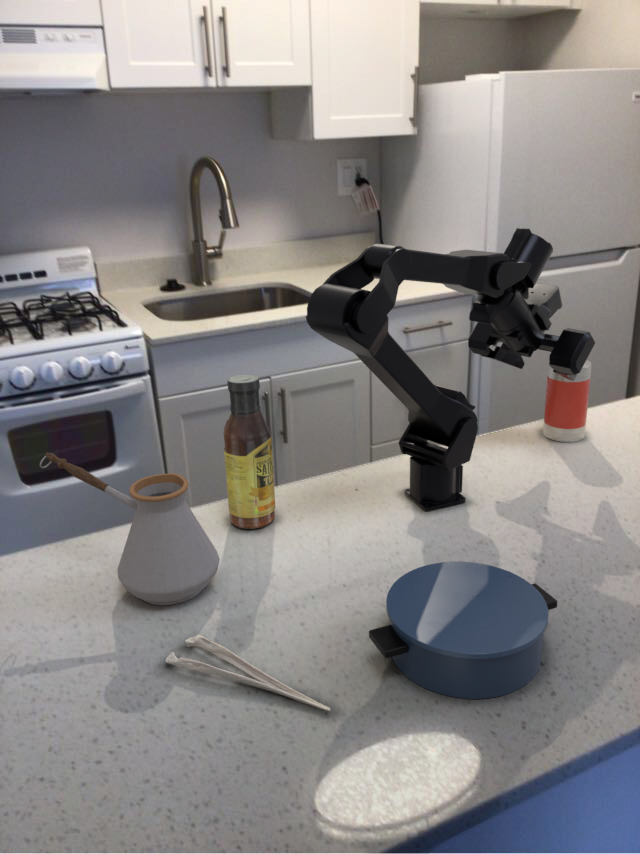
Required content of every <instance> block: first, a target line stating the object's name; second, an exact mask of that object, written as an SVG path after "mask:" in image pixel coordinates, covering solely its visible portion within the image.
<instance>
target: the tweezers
mask: <svg viewBox="0 0 640 854" xmlns="http://www.w3.org/2000/svg"><path fill="white" fill-rule="evenodd" d="M184 642H185V645H186V646H185V647H186V648H190V647H199V648H202V649H204V650H206V651H208V652H209V653H211V654H213V656H216V657H217V658H219V659H221V660H223V661H225V662H227V663H229V664H231V665H233V667H236V668H237V669H239V670H241V671H243V672H244V673H245V674H247V675H248V676H251V678H250V677H247V676H245V675H242V674H240V673H236V672H232V671H229V670H225V669H223V668H219V667H216V666H214V665H211V664H208V663H205V662H203V661H199V660H194V659H191V658H186V657H182V656H180V657H179V658H178V657H177V656H176V654H175V652H174V651H171V652H170V653H169V654H168V656H167V657H166V658H165V663H167V664H168V665H173V666H176V667H179V668H185V669H190V670H193V671H195V672H200V673H207V674H212V675H216V676H217V677H218V676H219V677H222V678H225V679H228V680H231V681H235V682H239V683H242V684H245V685H248V686H253V687H255V688H258V689H263V690H266V691H268V692H272V693H275V694H277V695H281V696H284V697H286V698H288V699H291V700H294V701H297V702H300V703H301V704H302V703H303V704H306V705H308V706H312V707H315V708H317V709H321V710H324V711H327V712H331V707H329V706H328V705H325V704H322V703H320V702H318V701H316V700H314V699H312V698H311V697H309V696H307V695H305V694H303V693H301V692H299V691H297V690H295V689H294V688H292V687H290V686H288V685H286V684H284V683H283V682H281V681H280V680H277V679H276V678H274V677H273V676H271V675H269V674H268V673H266V672H264V671H263V670H261V669H259V668H257V667H256V666H254V665H252V664H251V663H249V662H248V661H247V660H245V659H244V658H242V657H240V656H239V655H237V654H236V653H234V652H232V651H231V650H230V649H228V648H226V647H225V646H223V645H221V644H219V643H216V642H215V641H212V640H210V639H208V638H206V637H205V636H204V635H201V634H196V635H194V636H190V637H189V638H186V640H184ZM211 645H212V646H211Z"/></svg>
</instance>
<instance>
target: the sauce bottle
mask: <svg viewBox="0 0 640 854" xmlns="http://www.w3.org/2000/svg"><path fill="white" fill-rule="evenodd" d="M226 381H227V382H226V383H227V390H228V392H229V403H230V406H229V411H230V414H229V417H228V419H227V420H226V422H225V425H224V427H223V442H224V447H223V453H224V467H225V479H226V480H225V481H226V493H227V503H228V504H227V505H228V512H229V515H230V516H229V517H230V522H231V523H232V524H233V525H234V526H235V527H237V528H239V529H248V530H255V529H256V530H257V529H259V528H263V527H266V526H267V525H269V524H271V523H273V521H274V520H275V517H276V516H275V515H276V514H275V510H276V492H275V491H276V490H275V477H274V475H275V474H274V458H273V456H274V455H273V443H272V442H273V441H272V439H273V438H272V434H271V431H270V429H269V426H268V424H267V422H266V420H265V418H264V415H263V413H262V410H261V407H262V406H261V405H260V404H261V403H260V392H259V390H260V388H261V385H260V378H259V376H257V375H255V374H247V373H246V374H237V375H233V376H230V377H228V379H227V380H226Z"/></svg>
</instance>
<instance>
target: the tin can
mask: <svg viewBox="0 0 640 854" xmlns="http://www.w3.org/2000/svg"><path fill="white" fill-rule="evenodd" d="M592 365H593V364H592V362H591V361H590V360H588V359H587V360H586V362H585V364H584V366H583V367H582V369H581V371H580V373H578V374H577V376H576V378H575V380H574V381H572V380H569V379H567V378H565V377H563V376H561V375H559V374H557V373H555V372H553V370H554V369H553V368H551V366H550V365H549V361H548V365H547V377H546V388H545V403H544V416H543V429H542V433H543V436H544V437H545V438H547V439H549V440H551V441H552V440H553V441H555V442H561V443H562V442H563V443H574V442H579V441H581V440H583V439H584V438H585V437H586V428H587V427H586V426H587V417H588V407H589V398H590V397H589V396H590V385H591V373H592Z"/></svg>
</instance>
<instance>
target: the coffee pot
mask: <svg viewBox="0 0 640 854" xmlns="http://www.w3.org/2000/svg"><path fill="white" fill-rule="evenodd" d="M45 459H47V460H48V461H49V462H48V463H47V464H46V465H44V466H42V464H43V462H44V460H45ZM52 463H55V464H56V465H57V467H58V469H64V470H65V471H67V472H68V473H69V474H71V475H72V476H73V477H74V478H75V479H77V480H80V481H82V482H83V483H85V484H87V485H90V486H92V487H94V488H95V489H98V490H100V491H101V492H104V493H107V494H108V495H110V496H112V497H114V499H116V500H118V501H119V502H122V503H123V504H124V505H126V506H128V507H130V508H131V509H133V510H134V511H135V513H134V515H133V519H132V522H131V525H130V528H129V531H128V535H127V538H126V540H125V544H124V547H123V550H122V553H121V556H120V560H119V563H118V566H117V579H118V580H119V582H120V584H121V585H122V587H123V588H124V589H125V590H126V592H128V593H130V594H131V595H133V596H134V597H136V598H138V599H141V600H142V601H144V602H146V603H147V604H152V605H158V606H168V605H169V606H171V605H177V604H181V603H183V602H186V601H189V600H190V599H191V600H192V598H194V597H196V596H197V595H199V594H200V593H201V592H202V591H203V590H204V589H205V588H206V587H207V586H208V585H209V584H210V583H211V582H212V581H213V579H214V578H215V576H216V574H217V572H218V569H219V565H220V556H219V553H218V550H217V548H216V547H215V545H214V544H213V543H212V541H211V540H210V537H209V536H208V535H207V533H206V531H205V530H204V528H203V526H202V525H201V524H200V522H199V520H198V519H197V517H196V515H195V514H194V512H193V510H192V509H191V508H190V505H189V504H188V503H187V501H186V499H185V495H186V492H187V490H188V489H189V486H190V484H189V481H188V479H187V478H186V477H184V476H183V475H181V474H178V473H176V472H174V473H173V472H172V473H171V472H170V473H158V474H152V475H149V476H145V477H142V478H140V479H138V480H137V481H134V482H133V483H132V484H131V485H130V487H129V490H128V492H129V495H126V494H125V493H123V492H121V491H119V490H117V489H115V488H113V487H112V486H110V485H109V484H108V483H107V482H104V481H103V480H101V479H100V478H98V477H97V476H95V475H94V474H92V473H91V472H89V471H88V470H85V468H83V467H80V466H78V465H75V464H72V463H70V462H68V461H67V459H66V458H60V457H58V455H56V454H54V453H52V452H46V453H45V454H44V456H43V457H42V459H41V460H40V461H39V468H41V469H46V468H47V467H49V466H50V465H51V464H52Z"/></svg>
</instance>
